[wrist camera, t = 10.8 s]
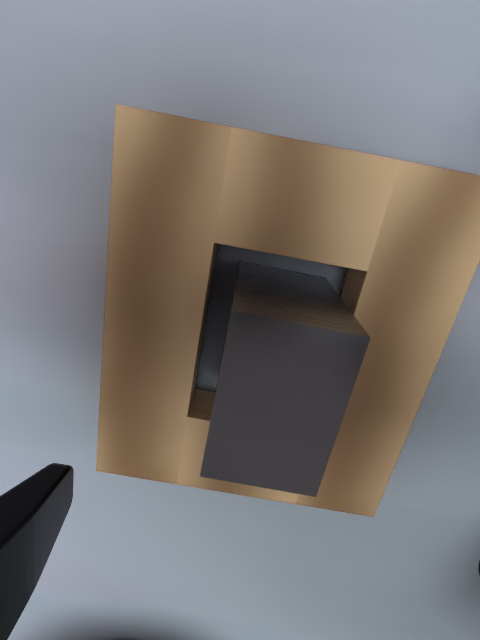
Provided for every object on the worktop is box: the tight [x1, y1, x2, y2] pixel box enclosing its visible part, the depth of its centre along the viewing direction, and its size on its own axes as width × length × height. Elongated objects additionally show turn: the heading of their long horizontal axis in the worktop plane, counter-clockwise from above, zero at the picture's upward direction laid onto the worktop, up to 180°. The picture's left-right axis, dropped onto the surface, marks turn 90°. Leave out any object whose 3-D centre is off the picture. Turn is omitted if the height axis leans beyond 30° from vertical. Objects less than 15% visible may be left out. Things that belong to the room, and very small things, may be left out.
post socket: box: [96, 104, 480, 517], centre depth 17 cm, size 14×16×2 cm
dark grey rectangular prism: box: [200, 261, 371, 497], centre depth 15 cm, size 4×6×7 cm, turn 169°
